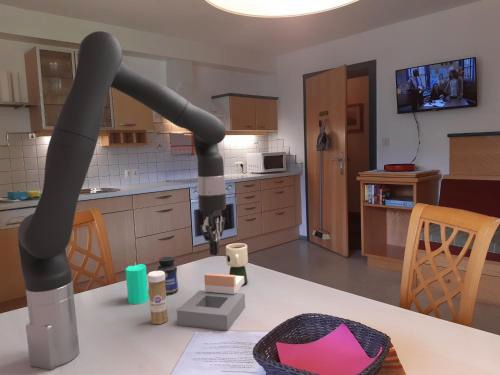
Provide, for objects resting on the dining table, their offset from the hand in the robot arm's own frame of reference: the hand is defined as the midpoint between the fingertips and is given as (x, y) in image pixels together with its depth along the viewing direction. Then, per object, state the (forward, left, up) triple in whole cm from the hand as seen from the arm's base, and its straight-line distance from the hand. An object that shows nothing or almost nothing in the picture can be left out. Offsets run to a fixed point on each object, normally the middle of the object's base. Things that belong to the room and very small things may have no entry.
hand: (214, 254), depth 105 cm
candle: (+2, +27, -17) cm, 32 cm away
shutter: (+7, 0, -12) cm, 14 cm away
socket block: (-3, 0, -16) cm, 17 cm away
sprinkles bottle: (-9, +13, -17) cm, 23 cm away
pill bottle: (+10, +21, -17) cm, 29 cm away
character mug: (+21, +1, -17) cm, 26 cm away
